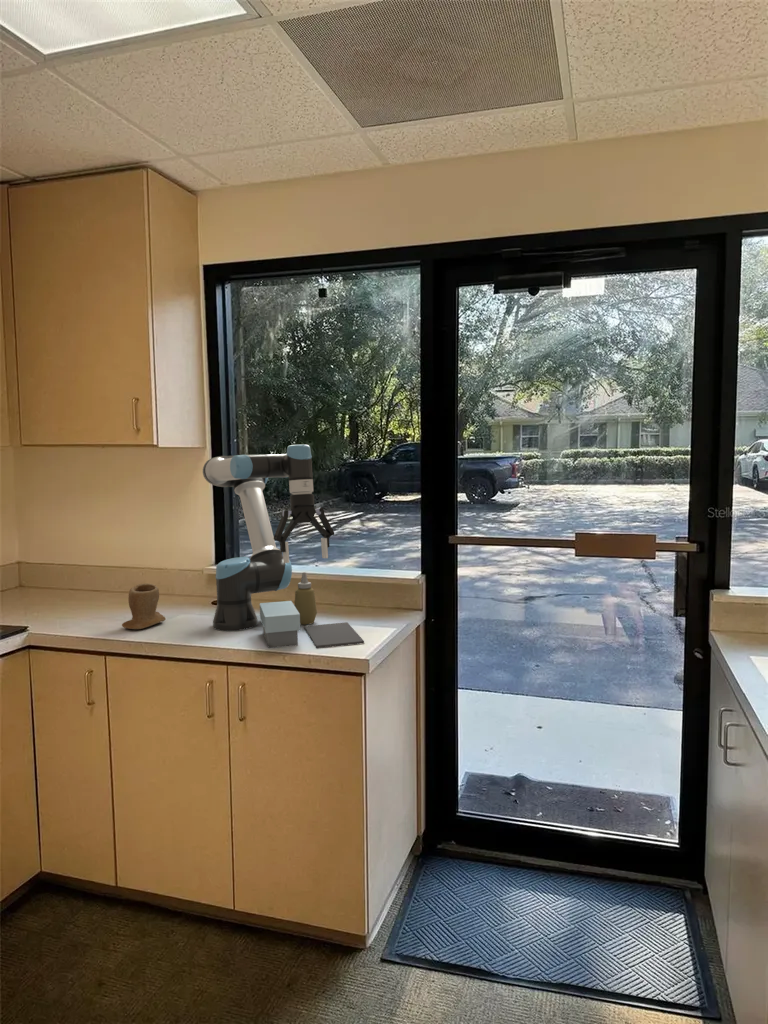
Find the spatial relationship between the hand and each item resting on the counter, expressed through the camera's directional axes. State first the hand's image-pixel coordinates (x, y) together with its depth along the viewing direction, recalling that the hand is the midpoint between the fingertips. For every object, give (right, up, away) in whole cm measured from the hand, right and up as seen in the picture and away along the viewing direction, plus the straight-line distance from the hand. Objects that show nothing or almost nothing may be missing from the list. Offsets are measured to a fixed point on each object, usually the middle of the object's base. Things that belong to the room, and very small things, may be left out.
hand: (306, 560), depth 206 cm
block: (-9, -21, +3) cm, 23 cm away
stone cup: (-59, -25, +23) cm, 68 cm away
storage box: (-9, -26, +3) cm, 27 cm away
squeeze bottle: (-3, -24, +23) cm, 33 cm away
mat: (+8, -25, +6) cm, 27 cm away
